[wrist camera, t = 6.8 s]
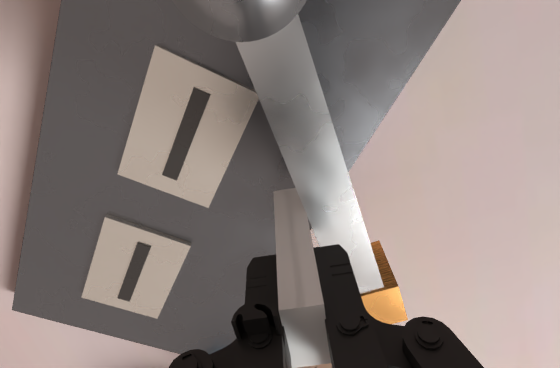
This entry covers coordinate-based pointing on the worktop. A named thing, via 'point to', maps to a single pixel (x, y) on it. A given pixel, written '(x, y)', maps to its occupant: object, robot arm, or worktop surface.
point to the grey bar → (303, 132)
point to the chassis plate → (183, 159)
